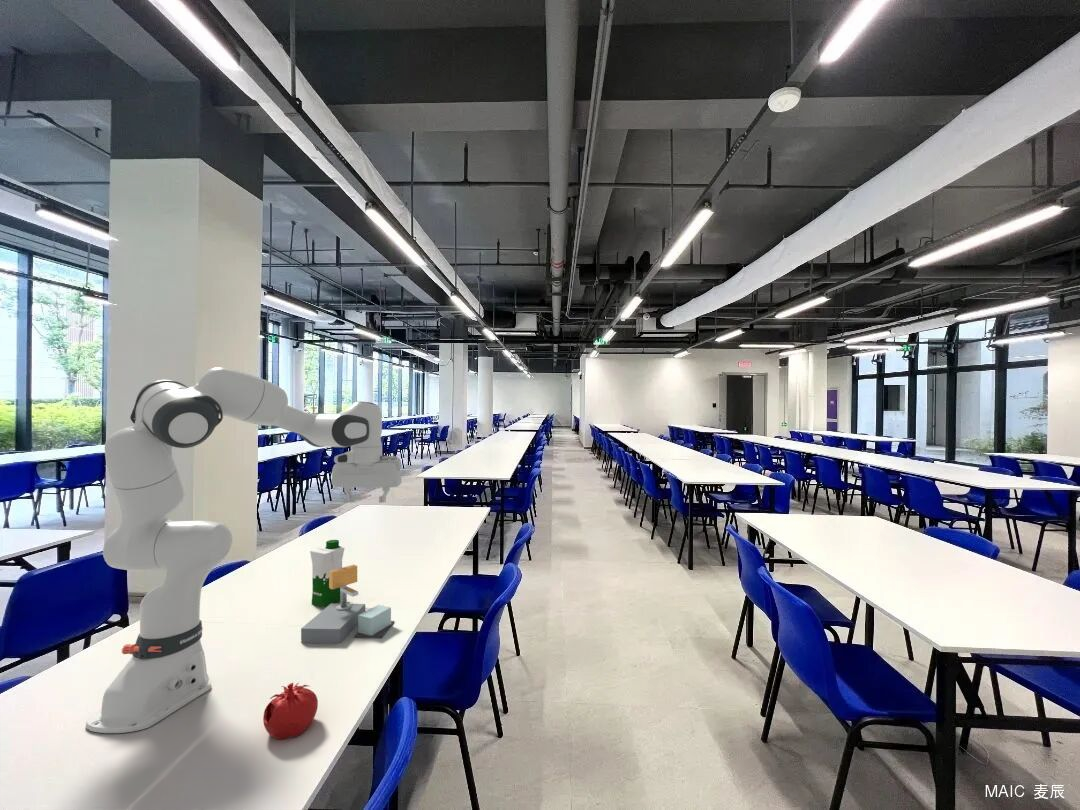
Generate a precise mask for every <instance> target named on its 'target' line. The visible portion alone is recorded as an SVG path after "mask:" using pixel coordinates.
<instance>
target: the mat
mask: <svg viewBox="0 0 1080 810" xmlns="http://www.w3.org/2000/svg"><path fill="white" fill-rule="evenodd" d="M394 623H395V620H391V624H390V625H389V626H387V627H385V628H384V629H382V630H380V631H379V632H377V633H375V634H374V635H372V636H370V635H366V634H362V633H358V632H356V633H355V634H354V636H353V638H354V639H355V638H356V639H357V638H358V639H359V638H360V639H382V638H383V637H384V636H385V635H386V633H387V632H388V631H389V630H390V628H391V627H392V626H393V625H394Z"/></svg>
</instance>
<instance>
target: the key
mask: <svg viewBox="0 0 1080 810" xmlns="http://www.w3.org/2000/svg"><path fill="white" fill-rule="evenodd" d="M357 582H358V565H357V564H352V565H347V566H344V567H343V566H342V568H340V569H336V570H332V571H329V588H330V589H332V590H333V589H336V588H339V587H340V602H339V604H340V607H341V608H344V607H346V606H347V603H348V596H351V597H352V598H353V597H355V596H356V597H357V596H359V591H358V590H356V589H353V588H351V587H349V585H351V584H355V583H357Z"/></svg>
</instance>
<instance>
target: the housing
mask: <svg viewBox="0 0 1080 810" xmlns="http://www.w3.org/2000/svg"><path fill="white" fill-rule="evenodd" d="M365 611H366V603H348V602H347V606H346V607H344V608H341V607H340V603H336V604H335V603H331V604H330V605H329V606H327V607H326V608H323V610H321V611H320V612H319V613H318V614H317V615H316V616H314V617H313V618H312V619H311V620H309V621H308V622H307V623H306V624H304V626H302V627H301V629H300V638H301V639H300V642H301V644H341V643H342V642H343V641H344V640H345V639H346V638H347V637H348V636H349V635H350V633H351V632H352V631H353V630H354V629H355V628H356V627H358V615H359V614H361V613H363V612H365Z"/></svg>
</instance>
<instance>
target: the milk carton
mask: <svg viewBox="0 0 1080 810" xmlns="http://www.w3.org/2000/svg"><path fill="white" fill-rule="evenodd" d="M309 553H310V559H311V563H312V565H311V566H312V567H311V569H312V577H311V578H312V592H311V605H314V606H316V607H321V608H323V609H325V608H326V607H327V606H329V605H330V604H331V603H335V604H339V603H340V587H339V588H336V589H333V590H332V589H330V588H329V571H332V570H336V569H340V568H343V559H344V553H345V547H343V546H341V545H340V540H339V539H329V540H327V541H326V542H325V545H324V546H321V547H317V548H315V549H312V550H309Z"/></svg>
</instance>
